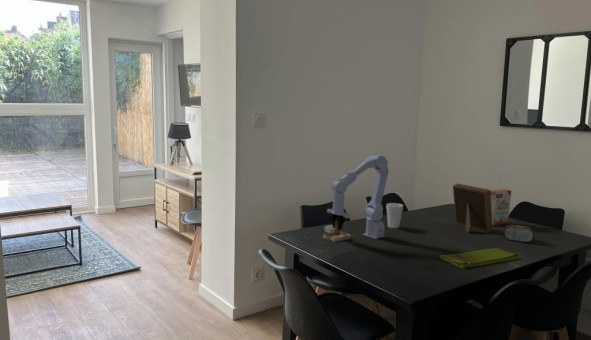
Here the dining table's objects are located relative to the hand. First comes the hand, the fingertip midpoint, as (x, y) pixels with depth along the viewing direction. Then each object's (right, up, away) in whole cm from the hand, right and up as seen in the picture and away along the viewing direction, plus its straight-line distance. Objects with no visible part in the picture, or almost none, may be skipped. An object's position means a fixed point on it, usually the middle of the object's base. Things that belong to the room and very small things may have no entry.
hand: (337, 228), depth 248 cm
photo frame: (+78, -4, +26) cm, 83 cm away
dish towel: (+65, -12, -25) cm, 70 cm away
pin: (0, -3, +1) cm, 3 cm away
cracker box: (+101, -2, +40) cm, 109 cm away
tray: (0, -5, +1) cm, 5 cm away
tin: (+98, -8, +5) cm, 98 cm away
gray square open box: (-2, -4, +12) cm, 13 cm away
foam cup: (+35, -2, +27) cm, 44 cm away
